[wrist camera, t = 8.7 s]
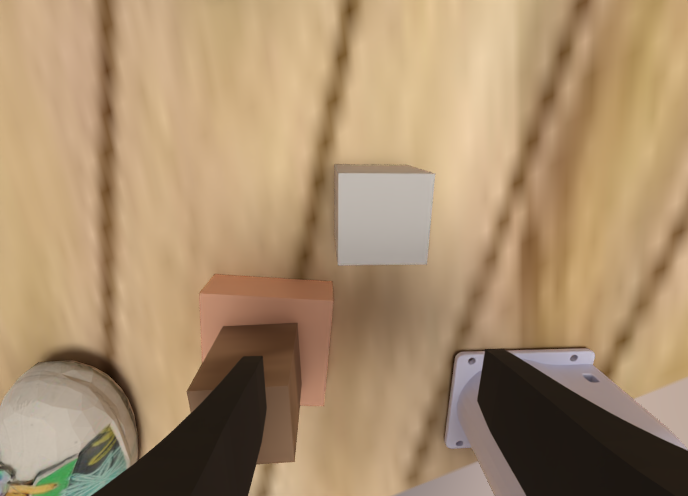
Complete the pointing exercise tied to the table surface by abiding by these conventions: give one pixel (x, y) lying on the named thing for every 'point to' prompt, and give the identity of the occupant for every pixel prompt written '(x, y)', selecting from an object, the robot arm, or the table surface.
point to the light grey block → (382, 214)
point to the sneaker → (64, 431)
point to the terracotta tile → (274, 318)
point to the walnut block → (278, 372)
